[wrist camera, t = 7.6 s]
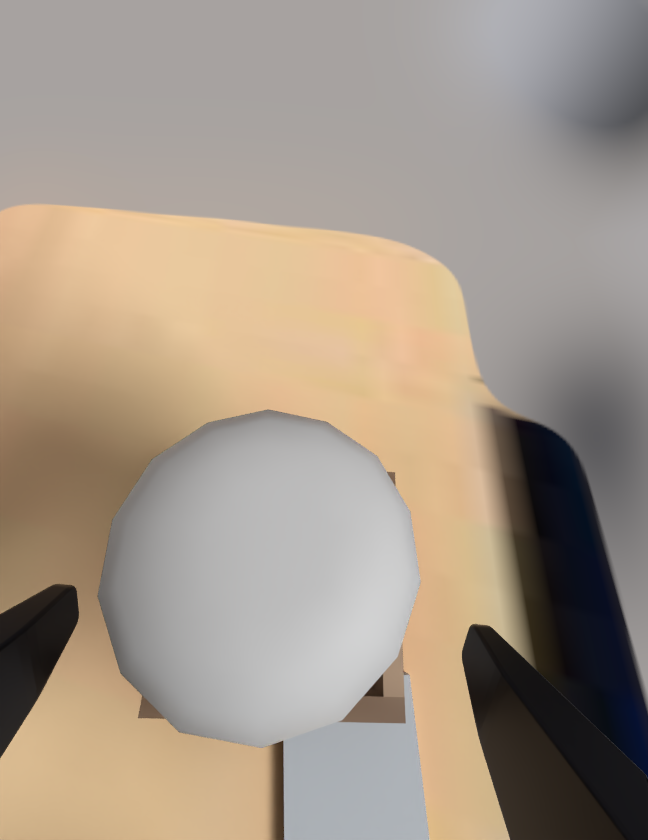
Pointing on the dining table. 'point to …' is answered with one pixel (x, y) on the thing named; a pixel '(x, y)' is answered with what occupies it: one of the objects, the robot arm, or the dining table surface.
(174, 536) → the salt shaker
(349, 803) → the grey rectangular slab
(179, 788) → the dining table surface
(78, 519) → the dining table surface
